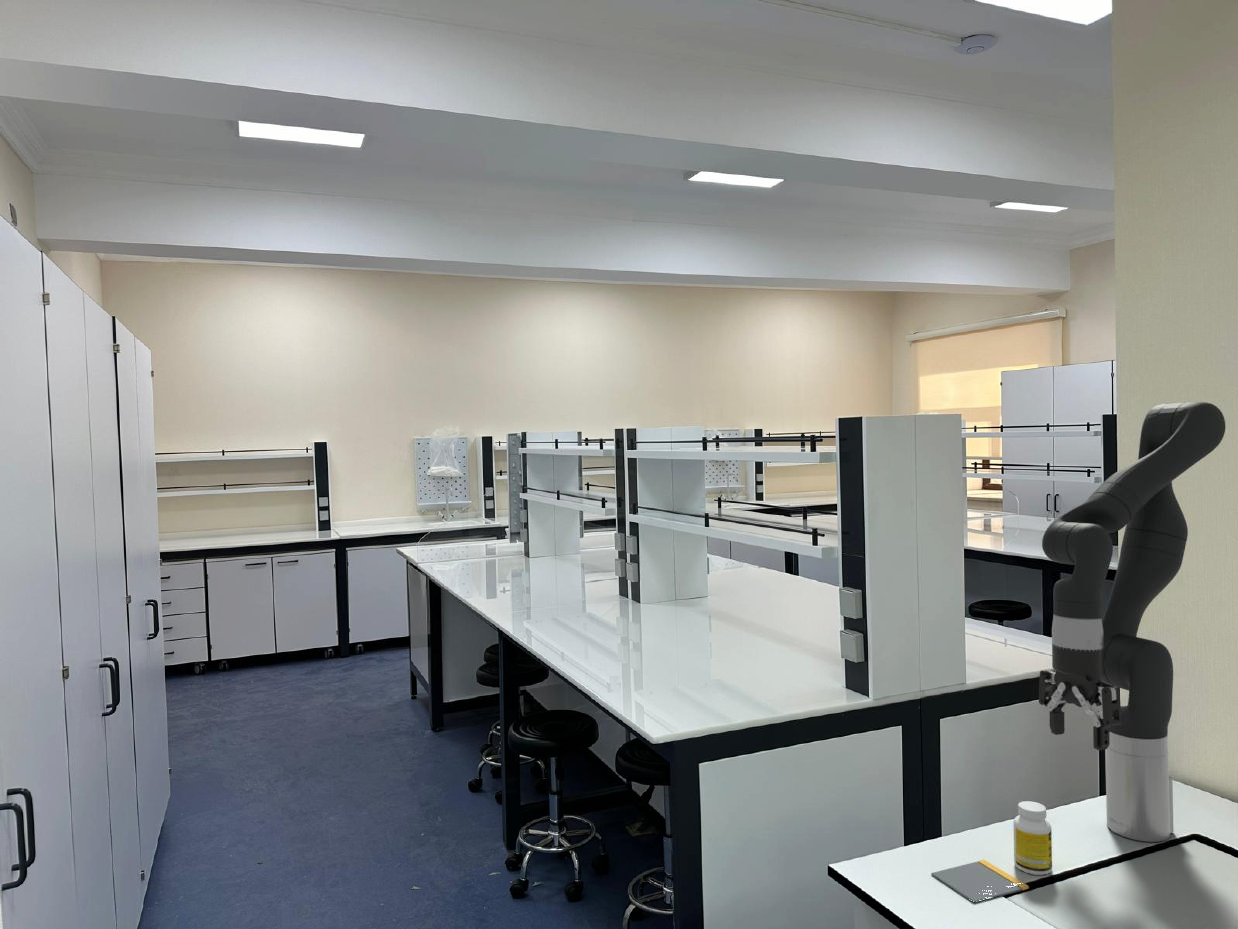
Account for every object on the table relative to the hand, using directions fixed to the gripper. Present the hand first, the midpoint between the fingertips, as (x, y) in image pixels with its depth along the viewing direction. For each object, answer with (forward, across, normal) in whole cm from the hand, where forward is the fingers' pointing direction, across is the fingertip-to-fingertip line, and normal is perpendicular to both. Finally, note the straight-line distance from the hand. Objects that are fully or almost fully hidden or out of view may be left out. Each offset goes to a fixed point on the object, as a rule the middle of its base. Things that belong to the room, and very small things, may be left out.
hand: (1078, 741), depth 138 cm
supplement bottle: (+18, -2, +12) cm, 22 cm away
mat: (+18, -3, +23) cm, 30 cm away
